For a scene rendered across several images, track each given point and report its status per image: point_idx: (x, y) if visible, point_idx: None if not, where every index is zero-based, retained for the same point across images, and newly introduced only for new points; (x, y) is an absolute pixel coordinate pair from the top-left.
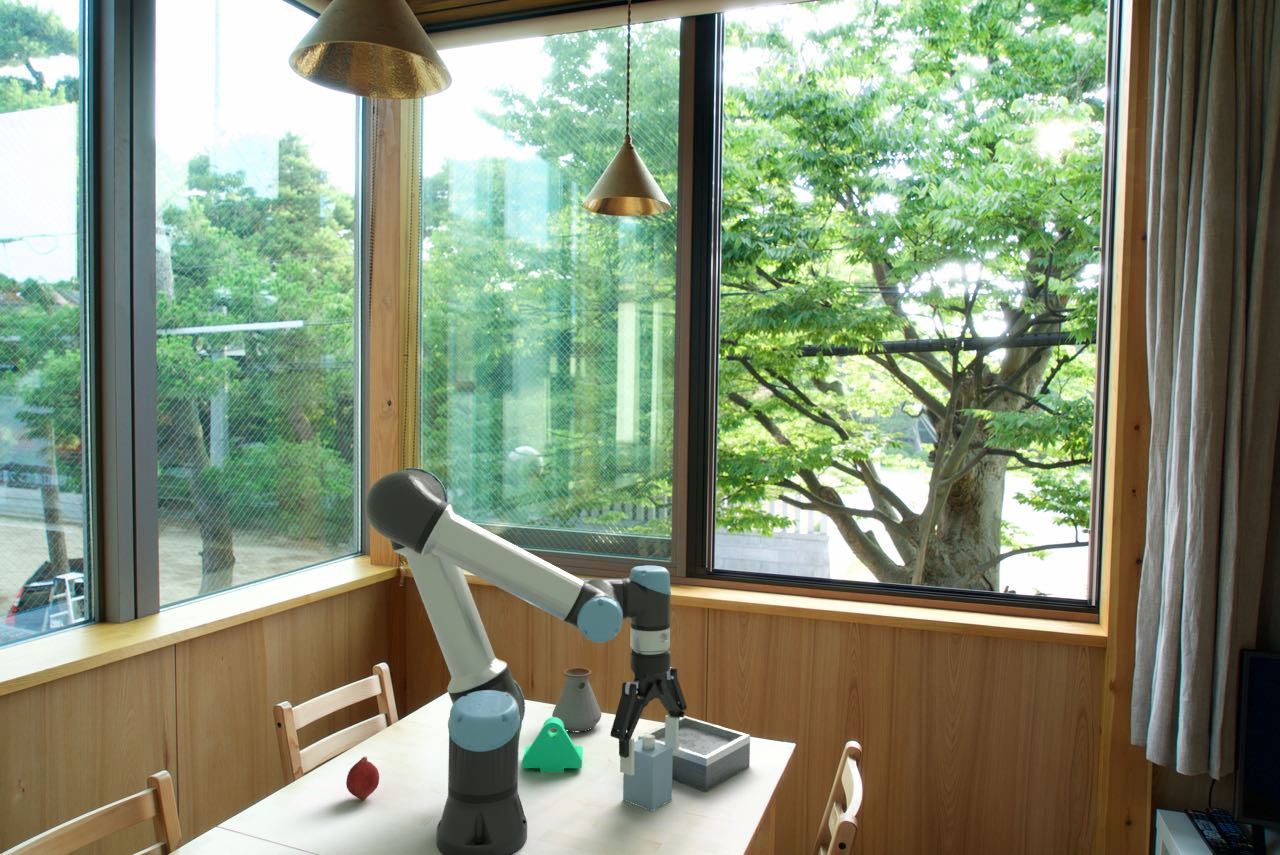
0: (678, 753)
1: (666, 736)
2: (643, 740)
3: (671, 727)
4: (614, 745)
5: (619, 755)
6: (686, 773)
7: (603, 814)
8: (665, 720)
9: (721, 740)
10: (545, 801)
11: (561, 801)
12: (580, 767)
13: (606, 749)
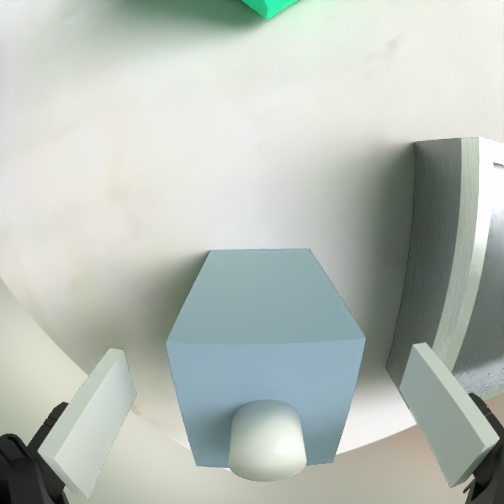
0: (443, 333)
1: (435, 382)
2: (230, 449)
3: (445, 437)
4: (455, 21)
5: (61, 403)
6: (411, 333)
7: (113, 267)
8: (473, 429)
9: None
10: (64, 105)
11: (85, 131)
12: (264, 17)
13: (428, 12)
